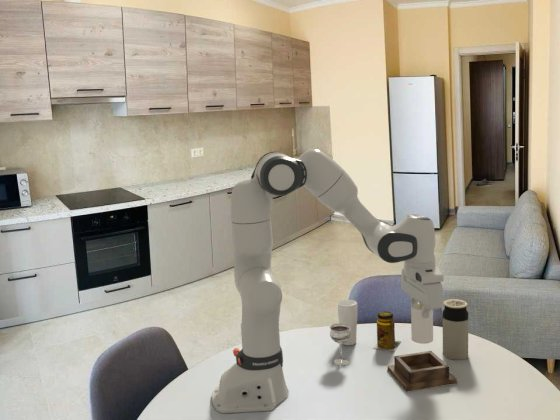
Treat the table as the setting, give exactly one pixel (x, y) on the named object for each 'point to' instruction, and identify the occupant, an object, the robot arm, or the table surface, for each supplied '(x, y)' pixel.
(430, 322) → the candle
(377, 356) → the table surface
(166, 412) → the table surface
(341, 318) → the drinking glass
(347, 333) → the wineglass
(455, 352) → the travel mug
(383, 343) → the condiment
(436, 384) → the candle holder
